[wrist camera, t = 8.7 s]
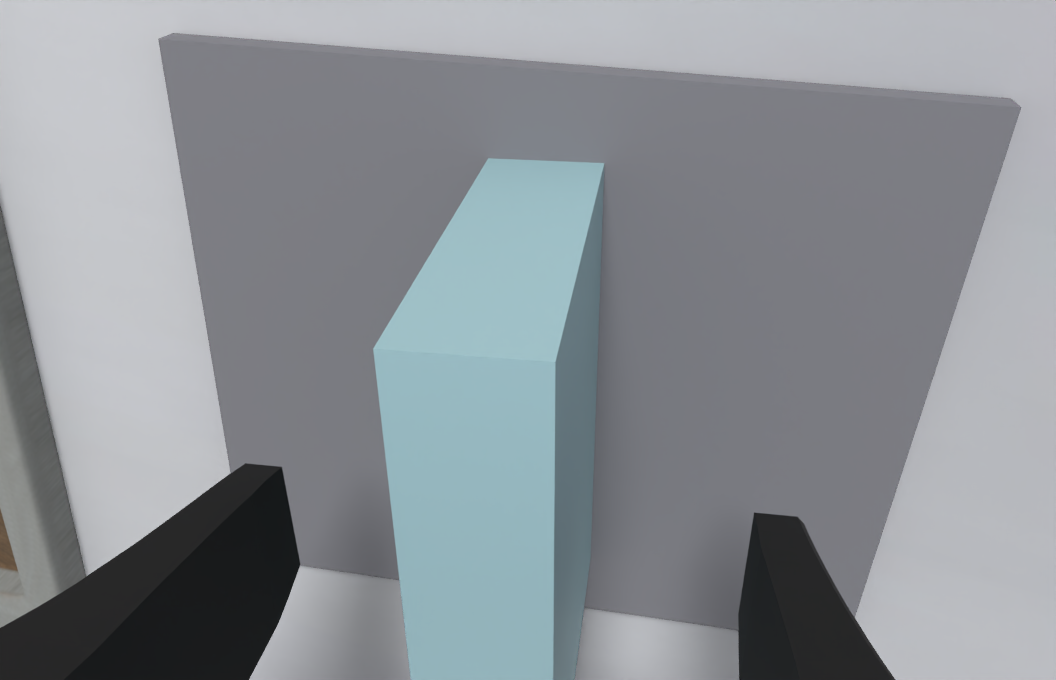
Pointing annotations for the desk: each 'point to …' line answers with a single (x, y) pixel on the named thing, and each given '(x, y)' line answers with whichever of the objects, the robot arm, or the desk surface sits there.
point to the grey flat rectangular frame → (28, 470)
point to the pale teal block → (497, 426)
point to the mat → (625, 286)
